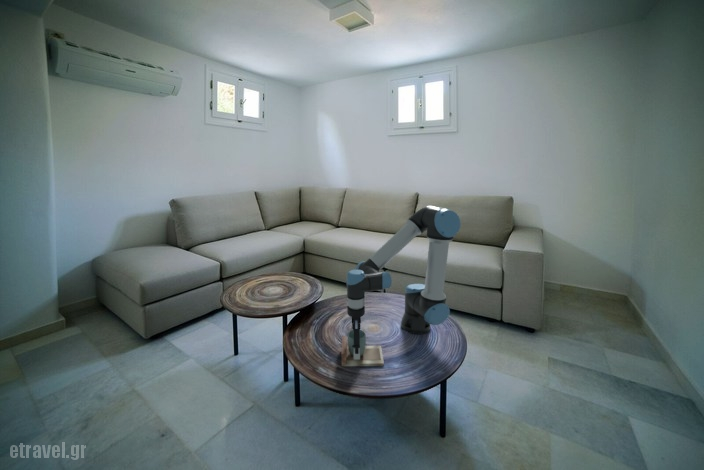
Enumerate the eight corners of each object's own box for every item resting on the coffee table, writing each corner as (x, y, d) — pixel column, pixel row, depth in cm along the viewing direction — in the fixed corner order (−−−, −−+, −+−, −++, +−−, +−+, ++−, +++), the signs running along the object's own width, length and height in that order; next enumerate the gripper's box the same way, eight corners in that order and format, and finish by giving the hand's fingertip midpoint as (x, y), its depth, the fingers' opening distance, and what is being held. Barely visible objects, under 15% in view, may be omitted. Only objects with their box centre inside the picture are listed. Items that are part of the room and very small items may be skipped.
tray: (380, 347, 142) (381, 335, 140) (383, 365, 129) (383, 353, 127) (342, 348, 142) (342, 336, 140) (341, 366, 129) (341, 353, 128)
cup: (356, 346, 140) (356, 327, 138) (369, 353, 135) (369, 333, 133) (344, 354, 135) (344, 334, 133) (357, 361, 130) (356, 341, 127)
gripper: (347, 294, 141) (348, 336, 146) (346, 319, 118) (347, 368, 123) (363, 293, 141) (364, 335, 146) (365, 319, 118) (366, 367, 123)
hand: (356, 350), depth 135 cm, fingers open, 11 cm apart
